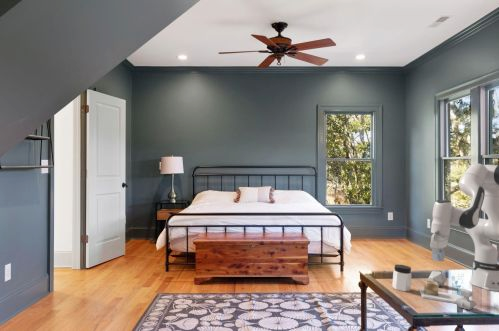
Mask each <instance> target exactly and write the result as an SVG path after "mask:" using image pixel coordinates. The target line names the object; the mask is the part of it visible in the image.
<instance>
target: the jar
mask: <svg viewBox="0 0 499 331" xmlns="http://www.w3.org/2000/svg"><path fill="white" fill-rule="evenodd" d="M411 285H412V267H410V266H408V265H405V264H395V265H394V269H393V273H392V286H391V287H392V288H394V289H395V290H396V291H400V292H401V291H402V292H409V291H410V292H411Z"/></svg>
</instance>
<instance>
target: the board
mask: <svg viewBox="0 0 499 331" xmlns="http://www.w3.org/2000/svg"><path fill="white" fill-rule="evenodd" d="M418 292H419V294H420V296H421V297H422V299H426V300H432V301H439V302H445V303H452V304H456V300H457V299H460V298H463V297H462V296H463V295H461V294H456V293H455V294H453V293H448V292H444V291H443V292H441V291H438V296H436V295H430V294H426V293H425V291H424V288H418Z"/></svg>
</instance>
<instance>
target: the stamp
mask: <svg viewBox="0 0 499 331" xmlns="http://www.w3.org/2000/svg"><path fill="white" fill-rule="evenodd" d="M459 292H460V293H459V294H460V295H461V296H463V297H462V298H460V299H457V300H456V303H455V304H456V305H457V306H458V308H461V309H463V308H464V309H463V310H466V309H468V310H467V311H470V310H472V308H473V309H474V308H475V307H476V306H477V304H478V303H477V302H476V301H474V300H471V299H470V297H473V296H474V295H473V293H474V292H473V291H471V290H467V289H464V288H463V289H460V290H459ZM469 309H470V310H469Z"/></svg>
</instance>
